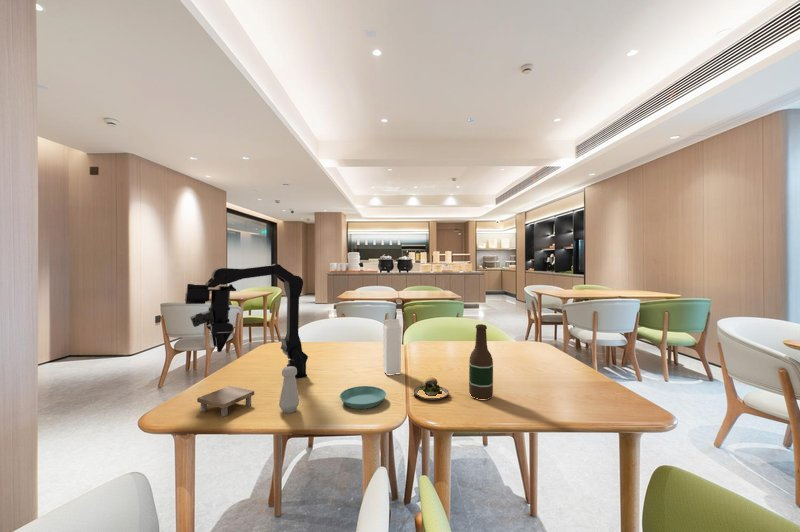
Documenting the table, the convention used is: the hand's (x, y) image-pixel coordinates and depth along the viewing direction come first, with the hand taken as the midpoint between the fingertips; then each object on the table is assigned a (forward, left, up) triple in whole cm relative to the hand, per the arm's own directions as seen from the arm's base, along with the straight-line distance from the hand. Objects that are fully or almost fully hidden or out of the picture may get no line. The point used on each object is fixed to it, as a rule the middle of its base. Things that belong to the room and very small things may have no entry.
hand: (217, 349), depth 116 cm
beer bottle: (-76, +50, -15) cm, 92 cm away
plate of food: (-62, +41, -15) cm, 76 cm away
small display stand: (-2, +17, -15) cm, 22 cm away
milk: (-62, +14, -15) cm, 65 cm away
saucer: (-40, +34, -15) cm, 54 cm away
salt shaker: (-18, +29, -15) cm, 37 cm away
